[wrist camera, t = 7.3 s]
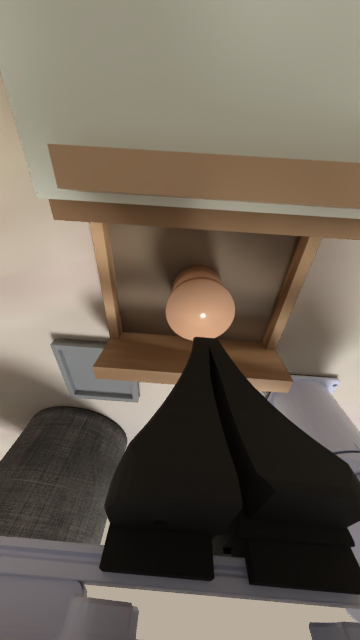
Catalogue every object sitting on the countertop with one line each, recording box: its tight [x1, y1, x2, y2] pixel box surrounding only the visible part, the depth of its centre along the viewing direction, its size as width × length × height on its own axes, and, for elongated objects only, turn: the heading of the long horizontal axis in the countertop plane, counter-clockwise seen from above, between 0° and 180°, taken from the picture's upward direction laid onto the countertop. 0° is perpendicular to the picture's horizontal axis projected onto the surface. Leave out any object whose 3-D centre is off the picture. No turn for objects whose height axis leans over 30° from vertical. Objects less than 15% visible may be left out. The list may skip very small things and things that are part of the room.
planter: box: [0, 407, 127, 545], centre depth 29 cm, size 18×18×16 cm
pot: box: [166, 265, 235, 341], centre depth 17 cm, size 5×5×5 cm
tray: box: [51, 339, 140, 402], centre depth 25 cm, size 10×10×1 cm
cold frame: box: [49, 199, 360, 393], centre depth 13 cm, size 29×19×6 cm, turn 177°
